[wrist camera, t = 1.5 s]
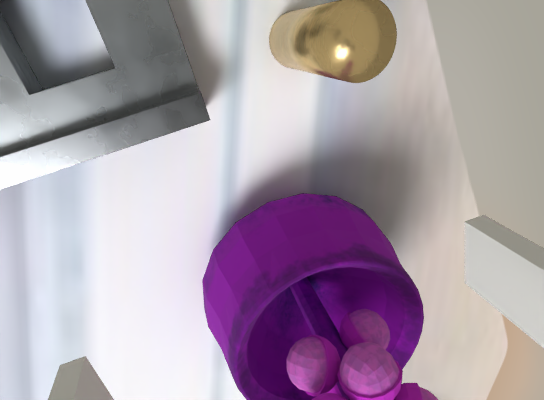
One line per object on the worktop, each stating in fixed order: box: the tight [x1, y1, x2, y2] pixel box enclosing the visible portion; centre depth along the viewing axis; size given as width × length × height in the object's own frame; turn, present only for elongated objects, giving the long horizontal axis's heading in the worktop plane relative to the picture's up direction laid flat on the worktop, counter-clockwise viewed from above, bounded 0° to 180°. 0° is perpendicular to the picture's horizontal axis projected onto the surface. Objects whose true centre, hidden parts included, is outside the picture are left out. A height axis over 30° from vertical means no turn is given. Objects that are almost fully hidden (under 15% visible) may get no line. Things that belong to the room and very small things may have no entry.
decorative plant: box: [203, 193, 438, 400], centre depth 26 cm, size 19×18×30 cm
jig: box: [0, 0, 210, 189], centre depth 25 cm, size 16×16×5 cm
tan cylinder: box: [269, 0, 397, 83], centre depth 26 cm, size 4×4×12 cm
